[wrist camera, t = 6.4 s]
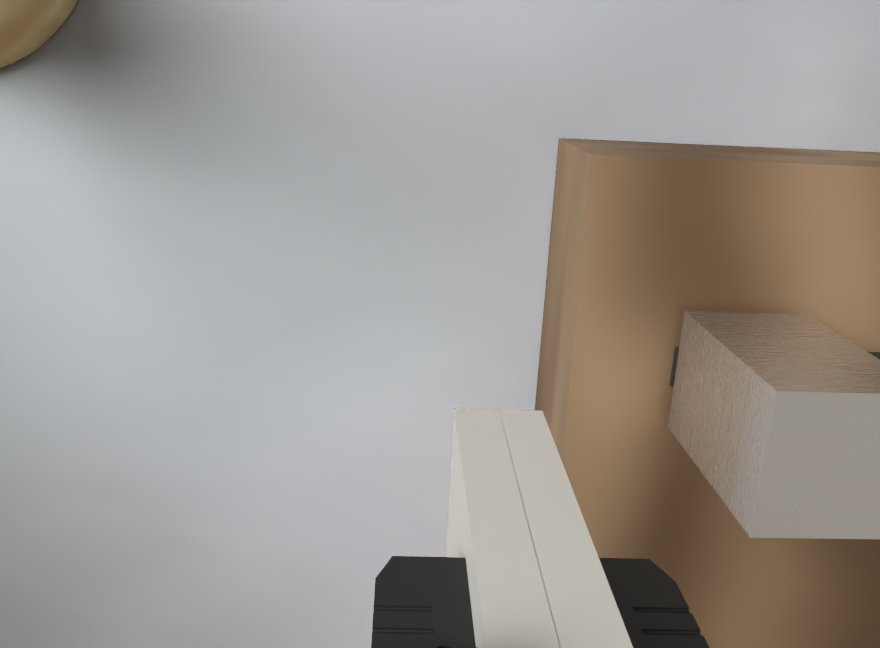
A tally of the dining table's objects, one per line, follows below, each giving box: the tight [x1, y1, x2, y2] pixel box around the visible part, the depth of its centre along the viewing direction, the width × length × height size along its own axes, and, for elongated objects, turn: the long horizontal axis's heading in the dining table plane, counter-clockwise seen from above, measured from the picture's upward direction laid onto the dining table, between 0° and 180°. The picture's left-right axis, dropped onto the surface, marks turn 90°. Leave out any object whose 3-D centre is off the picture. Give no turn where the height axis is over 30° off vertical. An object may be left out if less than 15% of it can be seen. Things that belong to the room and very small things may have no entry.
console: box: [535, 138, 880, 648], centre depth 25 cm, size 19×26×4 cm
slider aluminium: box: [668, 311, 880, 539], centre depth 18 cm, size 3×3×5 cm
